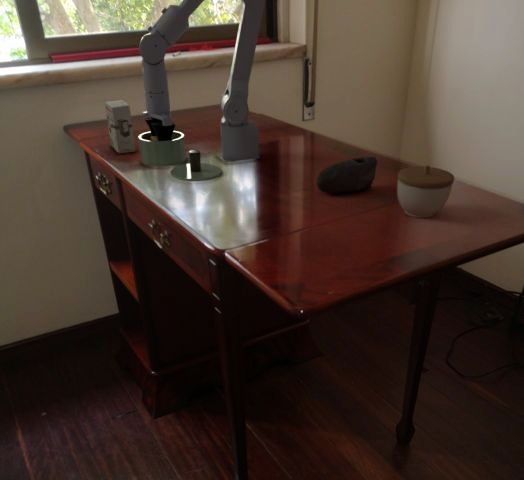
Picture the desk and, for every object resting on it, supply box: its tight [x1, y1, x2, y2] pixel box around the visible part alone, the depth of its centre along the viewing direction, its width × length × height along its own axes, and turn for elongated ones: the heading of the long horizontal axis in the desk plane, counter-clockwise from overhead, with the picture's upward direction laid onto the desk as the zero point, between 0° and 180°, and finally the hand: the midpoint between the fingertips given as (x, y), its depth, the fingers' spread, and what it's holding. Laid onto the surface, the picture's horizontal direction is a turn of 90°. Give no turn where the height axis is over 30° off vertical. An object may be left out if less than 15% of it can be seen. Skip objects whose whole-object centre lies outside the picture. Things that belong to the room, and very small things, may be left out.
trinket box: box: [396, 164, 455, 219], centre depth 106 cm, size 11×11×9 cm
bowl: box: [137, 130, 187, 167], centre depth 135 cm, size 11×11×6 cm
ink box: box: [104, 99, 136, 154], centre depth 143 cm, size 9×5×12 cm, turn 27°
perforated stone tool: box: [316, 156, 378, 194], centre depth 117 cm, size 15×5×7 cm, turn 110°
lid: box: [169, 149, 222, 182], centre depth 127 cm, size 12×12×6 cm
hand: (162, 149), depth 135 cm, fingers closed on block, 4 cm apart
